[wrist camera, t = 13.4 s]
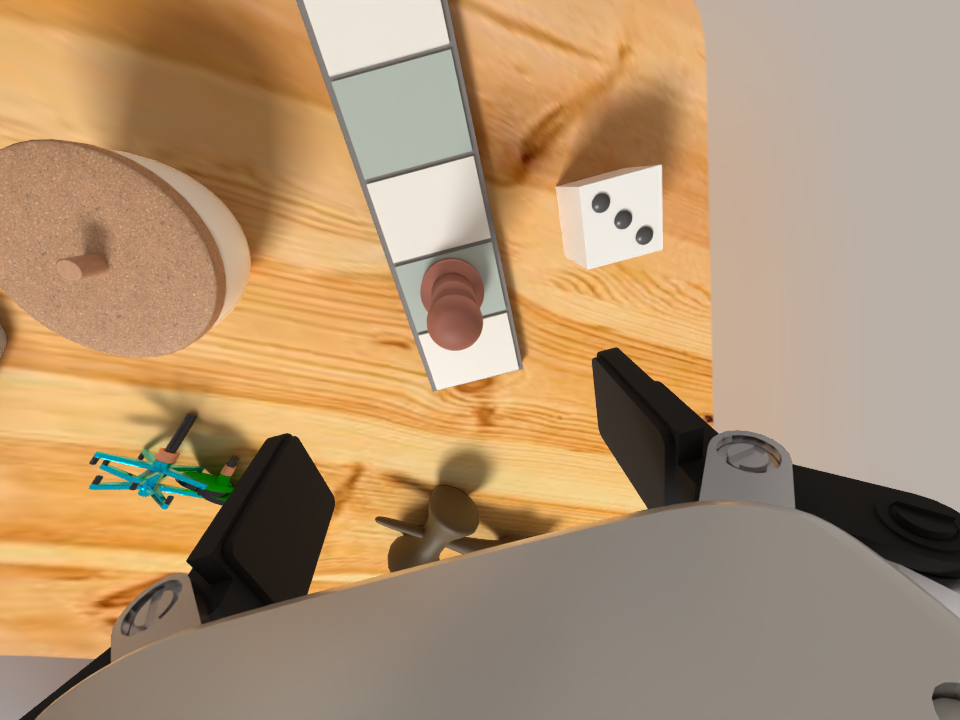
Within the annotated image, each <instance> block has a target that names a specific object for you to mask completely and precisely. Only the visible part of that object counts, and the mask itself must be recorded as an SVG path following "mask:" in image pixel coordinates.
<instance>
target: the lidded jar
mask: <svg viewBox="0 0 960 720" xmlns="http://www.w3.org/2000/svg"><path fill="white" fill-rule="evenodd" d="M250 272H251V257H250V250H249V246H248V243H247V240H246V237H245V235H244V233H243V230H242V228H241V226H240V224H239V223H238V221H237V220H236V218H235V217H234V215H233V214H232V212H231V211H230V210H229V209H228V208H227V206H226V205H225V204H224V203H223V202H222V201H221V200H220V199H219V198H218V197H217V196H216V195H215V194H214V193H213V192H211V191H210V190H209V189H207V188H206V187H205V186H203V185H202V184H201V183H199V182H198V181H197V180H195V179H194V178H192V177H190V176H188V175H187V174H185V173H183V172H181V171H179V170H177V169H175V168H172V167H170V166H168V165H165V164H163V163H161V162H158V161H156V160H153V159H149V158H146V157H142V156H139V155H135V154H132V153H128V152H124V151H118V150H112V149H105V148H100V147H97V146H93V145H89V144H84V143H77V142H70V141H63V140H54V139H50V140H29V141H24V142H20V143H15V144H12V145H10V146H8V147H5V148H3V149H1V150H0V287H1V288H2V289H3V291H4V292H5V293H6V294H7V295H8V296H9V297H10V298H11V299H12V300H13V301H14V302H15V303H16V304H17V305H18V306H19V307H20V308H21V309H23V310H24V311H25V312H26V313H28V314H29V315H30V316H31V317H33V318H34V319H35V320H37V321H38V322H40V323H41V324H43V325H44V326H46V327H47V328H48V329H50V330H51V331H53V332H55V333H57V334H59V335H61V336H63V337H65V338H67V339H68V340H71V341H73V342H75V343H78V344H80V345H82V346H85V347H87V348H90V349H94V350H97V351H101V352H104V353H109V354H114V355H119V356H125V357H139V358H142V357H157V356H162V355H166V354H171V353H173V352H176V351H179V350H181V349H184V348H185V347H187V346H189V345H190V344H192V343H193V342H195V341H197V340H198V339H200V338H201V337H202V336H203V335H204V334H206V333H207V332H208V331H209V330H210V329H212V328H213V327H214V326H216V325H217V324H219V323H220V322H221V321H222V320H223V319H224V318H225V317H226V316H227V315H228V314H229V313H230V312H231V311H232V310H233V309H234V308H235V307H236V305H237V304H238V302H239V301H240V300H241V298H242V296H243V295H244V293H245V290H246V288H247V286H248V282H249V277H250Z"/></svg>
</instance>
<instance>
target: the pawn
mask: <svg viewBox="0 0 960 720" xmlns="http://www.w3.org/2000/svg"><path fill="white" fill-rule="evenodd" d="M420 295H421V301H422V303H423V306H424V307H425V309H426V311H427V312H428V315H427V329H428V332H429V335H430V337H431V338H432V340H433V341H434V342H435V343H436V344H437V345H439V346H440V347H442V348H444V349H447V350H451V351H459V350H463V349H466V348H468V347H470V346H472V345H473V344H474V343H475V342H476V341H477V340H478V338H479V337H480V335H481V332H482V329H483V316H482V313H481V311H480V307H481V305H482V303H483V299H484V285H483V282H482V279H481V277H480V275H479V273H478V271H477V270H476V269H475V268H474V267H473V266H472V265H471V264H470V263H468V262H467V261H465V260H462V259H458V258H445V259H441V260H439V261H437V262H435V263H434V264H432V265H431V266H430V267H429V268H428V269H427V271H426V272H425V274H424V276H423V279H422V283H421V288H420Z"/></svg>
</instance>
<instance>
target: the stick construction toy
mask: <svg viewBox="0 0 960 720" xmlns="http://www.w3.org/2000/svg"><path fill="white" fill-rule="evenodd" d="M196 419H197V416H195V415H192V414H189V413H188V414H187V415H186V416H185V418H184V420H183V421H182V423H181V425H180V426H179V428H178V429H177V431H176V433H175V434H174V436H173V437H172V439H171V441H170V442H169V444H168V445H167V447H166V448H161V449H160V450H159V451H158V453H157V455H156V456H155V455H154V454H153V453H151V452H150V451H149V450H148V449H143V450H142V452H141V454H140V455H139V457H138V459H139V460H138V459H133V458H128V457H124V456H119V455H114V454H109V453H104V452H99V451H98V452H96V453H95V455H94V456H93V458H92V459H91V461H90V462H89V463H90V464H92V465H95V464H96V463H97V462H98V460H99V459H100V458H101V459H105V460H104V461H103V463H102V464H101V466H100V467H99V468H100V469H102V470H104V471H106V472H109V473H111V474H113V475H116V476H118V477H120V478H122V479H125V480H127V481H129V482H107V483H100V482H101V480H102V479H103V476H100V475H98V476H96V477H95V479H94V480H93V482H92V483H91V485H90V486H89V489H91V490H122V489H130V490H136V489H140V490H139V492H138V495H140V496H143V497H147V496H149V495H150V496H151V497H152V498H153V499H154V500H155V501H156V502H157V503H158V505H159V506H160V507H161V508H162V509H167V508H168V507H169V505H170V503H171V502H172V500H173V498H174V497H173V496H168V497H167V499H166V498H165V497H164V495H163V494H162V492H168V493H174V494H180V495H186V496H192V497H198V498H204V499H206V500H208V501H210V502H212V503H215V504H219V505H223V504H224V503H225V501H226V500H227V498H228V497H229V495H230V494H231V492H232V491H233V489H234V488H235V487H233V486H232V483H231V482H229V479H230V478H231V476H232V474H233V472H234V471H235V469H236V467H235V465H236V463H237V462H238V460H239V458H238V457H236V456H232V457H231V459H230V461H229V462H228V464H225V466H224V467H223V469H222V471H221V473H220V474H219V476H215V475H211V474H206V473H202V472H203V470H204V469H205V468H204V467H202V466H186V465H172V464H173V463H175V461H176V459H177V458H178V456H179V455H180V453H179V452H177V450H178V448H179V446H180V445H181V443H182V441H183V440H184V438H185V437H186V435H187V433H188V432H189V430H190V428H191V427H192V425H193V424H194V422H195V420H196ZM144 457H145V458H146V460H147V461H148V462H147V461H143V459H144ZM110 461H114V462H119V463H123V464H128V465H132V466H137V467H141V468H146V469H148V470H146V471H145V472H143V473H142V474H140V475H138V476H136V475H133V474H131V473H128V472H126V471H123V470H121V469H118V468H115V467H113V466H110V465H108V464H109V463H110ZM181 472H183V473H181ZM169 476H171V477H173V478H175V480H176V481H177V482H178V483H179V484H180V485H182V486H184V487H185V488H188V489H184V488H179V487H174V486H170V485H165V484H161V482H162V481H164V480H165V479H166V478H167V477H169ZM189 489H190V490H189ZM161 491H162V492H161Z"/></svg>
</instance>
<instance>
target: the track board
mask: <svg viewBox="0 0 960 720" xmlns="http://www.w3.org/2000/svg"><path fill="white" fill-rule="evenodd" d="M296 1H297V4H298V7H299V10H300V13H301V16H302V19H303V21H304V24H305V27H306V30H307V33H308V36H309V39H310V41H311V44H312V47H313V50H314V53H315V56H316V59H317V61H318V64H319V67H320V70H321V73H322V76H323V79H324V81H325V84H326V87H327V90H328V93H329V96H330V99H331V101H332V104H333V107H334V110H335V113H336V116H337V119H338V121H339V124H340V127H341V130H342V133H343V136H344V139H345V141H346V144H347V147H348V150H349V153H350V156H351V159H352V161H353V164H354V167H355V170H356V173H357V176H358V179H359V181H360V184H361V187H362V190H363V193H364V196H365V199H366V201H367V204H368V207H369V210H370V213H371V216H372V219H373V221H374V224H375V227H376V230H377V233H378V236H379V239H380V241H381V244H382V247H383V250H384V253H385V256H386V259H387V261H388V264H389V267H390V270H391V273H392V276H393V279H394V281H395V284H396V287H397V290H398V293H399V296H400V299H401V301H402V304H403V307H404V310H405V313H406V316H407V319H408V321H409V324H410V327H411V330H412V333H413V336H414V339H415V341H416V344H417V347H418V350H419V353H420V356H421V359H422V361H423V364H424V367H425V370H426V373H427V376H428V379H429V381H430V384H431V387H432V390H433V392H434V391H438V390H442V389H446V388H450V387H453V386H457V385H461V384H465V383H469V382H473V381H477V380H481V379H485V378H489V377H493V376H497V375H501V374H505V373H509V372H513V371H517V370H521V369H523V365H522V360H521V355H520V350H519V345H518V340H517V336H516V331H515V326H514V321H513V316H512V311H511V306H510V301H509V297H508V292H507V287H506V282H505V277H504V272H503V267H502V263H501V258H500V253H499V248H498V243H497V238H496V233H495V229H494V224H493V219H492V214H491V209H490V204H489V199H488V195H487V190H486V185H485V180H484V175H483V170H482V165H481V161H480V156H479V151H478V146H477V141H476V136H475V131H474V127H473V122H472V117H471V112H470V107H469V102H468V97H467V93H466V88H465V83H464V78H463V73H462V68H461V63H460V59H459V54H458V49H457V44H456V39H455V34H454V29H453V25H452V20H451V15H450V10H449V5H448V0H296ZM445 258H458V259H462V260H465V261H467V262H468V263H470V264H471V265H472V266H473V267H474V268H475V269H476V270H477V271H478V273H479V275H480V277H481V279H482V282H483V285H484V299H483V303H482V305H481V307H480V311H481V313H482V316H483V329H482V332H481V335H480V337H479V338H478V340H477V341H476V342H475V343H474V344H473V345H472V346H470V347H468V348H466V349H463V350H459V351H451V350H447V349H444V348H442V347H440V346H439V345H437V344H436V343H435V342H434V341H433V340H432V338H431V337H430V335H429V332H428V329H427V315H428V312H427V311H426V309H425V307H424V306H423V303H422V301H421V295H420V288H421V283H422V279H423V276H424V274H425V272H426V271H427V269H428V268H429V267H430V266H431V265H432V264H434V263H435V262H437V261H439V260H441V259H445Z"/></svg>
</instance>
